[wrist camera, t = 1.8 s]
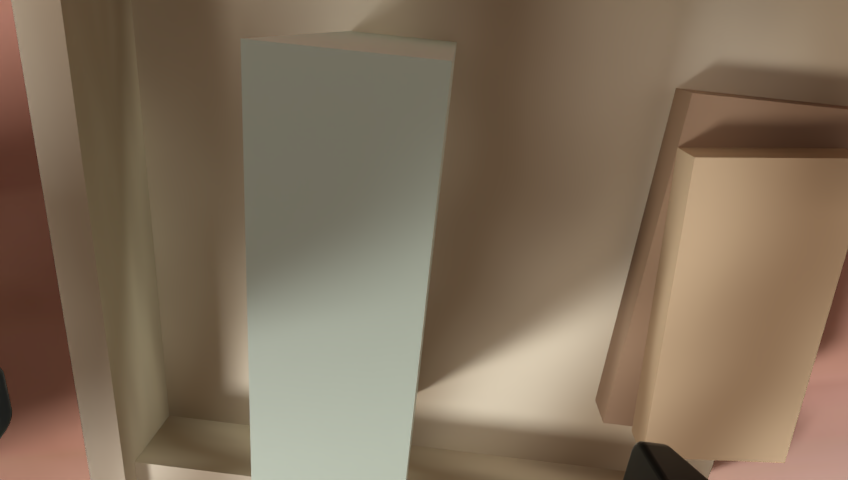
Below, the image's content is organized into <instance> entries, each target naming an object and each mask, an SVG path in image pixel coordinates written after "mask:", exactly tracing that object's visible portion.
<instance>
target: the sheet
mask: <svg viewBox="0 0 848 480" xmlns="http://www.w3.org/2000/svg"><path fill="white" fill-rule="evenodd" d="M456 44H457V42H451V41H441V40H432V39H422V38H413V37H403V36H394V35H385V34H375V33H366V32H356V31H343V32H329V33H314V34H300V35H285V36H271V37H256V38H242V39H241V80H242V120H243V161H244V202H245V242H246V283H247V324H248V364H249V405H250V446H251V480H407V476H408V467H409V459H410V450H411V442H412V433H413V425H414V416H415V408H416V400H417V391H418V382H419V373H420V364H421V355H422V347H423V338H424V329H425V320H426V311H427V302H428V293H429V284H430V275H431V266H432V258H433V249H434V240H435V231H436V222H437V213H438V204H439V195H440V186H441V178H442V169H443V160H444V151H445V142H446V133H447V124H448V115H449V106H450V97H451V89H452V80H453V71H454V62H455V53H456Z"/></svg>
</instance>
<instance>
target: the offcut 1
mask: <svg viewBox="0 0 848 480" xmlns="http://www.w3.org/2000/svg"><path fill="white" fill-rule="evenodd" d="M677 148H843V149H846V150H848V106H840V105H831V104H822V103H812V102H803V101H793V100H784V99H775V98H765V97H756V96H746V95H737V94H728V93H718V92H709V91H700V90H690V89H681V88H676V90H675V94H674V98H673V101H672V105H671V109H670V113H669V117H668V121H667V125H666V128H665V132H664V136H663V140H662V144H661V148H660V152H659V155H658V159H657V163H656V167H655V171H654V175H653V179H652V183H651V186H650V190H649V194H648V198H647V202H646V206H645V210H644V213H643V217H642V221H641V225H640V229H639V233H638V237H637V240H636V244H635V248H634V252H633V256H632V260H631V264H630V267H629V271H628V275H627V279H626V283H625V287H624V291H623V295H622V298H621V302H620V306H619V310H618V314H617V318H616V322H615V325H614V329H613V333H612V337H611V341H610V345H609V349H608V352H607V356H606V360H605V364H604V368H603V372H602V376H601V379H600V383H599V387H598V391H597V395H596V399H595V401H596V404H597V407H598V410H599V413H600V415H601V418H602V421H603V423H608V424H616V425H624V426H632V425H633V419H634V413H635V407H636V401H637V394H638V388H639V382H640V376H641V370H642V364H643V357H644V351H645V345H646V339H647V333H648V326H649V320H650V314H651V308H652V302H653V295H654V289H655V283H656V277H657V271H658V264H659V258H660V252H661V246H662V240H663V234H664V227H665V221H666V215H667V209H668V203H669V196H670V190H671V184H672V178H673V172H674V165H675V159H676V153H677Z"/></svg>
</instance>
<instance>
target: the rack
mask: <svg viewBox="0 0 848 480" xmlns="http://www.w3.org/2000/svg"><path fill="white" fill-rule="evenodd" d="M11 2H12V8H13V14H14V20H15V27H16V33H17V39H18V45H19V51H20V57H21V63H22V69H23V75H24V81H25V87H26V93H27V99H28V105H29V111H30V117H31V123H32V129H33V135H34V141H35V147H36V153H37V159H38V165H39V171H40V177H41V184H42V190H43V196H44V202H45V208H46V214H47V220H48V226H49V232H50V238H51V244H52V250H53V256H54V262H55V268H56V274H57V280H58V286H59V292H60V298H61V304H62V310H63V316H64V322H65V328H66V334H67V341H68V347H69V353H70V359H71V365H72V371H73V377H74V383H75V389H76V395H77V401H78V407H79V413H80V419H81V425H82V431H83V437H84V443H85V449H86V455H87V461H88V467H89V473H90V479H91V480H251V446H250V405H249V364H248V324H247V283H246V242H245V202H244V161H243V120H242V80H241V39H242V38H256V37H271V36H285V35H300V34H314V33H329V32H343V31H356V32H366V33H375V34H385V35H394V36H403V37H413V38H422V39H432V40H441V41H451V42H457V44H456V53H455V62H454V71H453V80H452V89H451V97H450V106H449V115H448V124H447V133H446V142H445V151H444V160H443V169H442V178H441V186H440V195H439V204H438V213H437V222H436V231H435V240H434V249H433V258H432V266H431V275H430V284H429V293H428V302H427V311H426V320H425V329H424V338H423V347H422V355H421V364H420V373H419V382H418V391H417V400H416V408H415V416H414V425H413V433H412V442H411V450H410V459H409V467H408V476H407V480H623V478H624V474H625V471H626V468H627V464H628V461H629V458H630V454H631V451H632V449H633V446H634V445H635V444H636V441H635V438H634V436H633V434H632V426H624V425H616V424H608V423H603V421H602V418H601V415H600V413H599V410H598V407H597V404H596V401H595V399H596V395H597V391H598V387H599V383H600V379H601V376H602V372H603V368H604V364H605V360H606V356H607V352H608V349H609V345H610V341H611V337H612V333H613V329H614V325H615V322H616V318H617V314H618V310H619V306H620V302H621V298H622V295H623V291H624V287H625V283H626V279H627V275H628V271H629V267H630V264H631V260H632V256H633V252H634V248H635V244H636V240H637V237H638V233H639V229H640V225H641V221H642V217H643V213H644V210H645V206H646V202H647V198H648V194H649V190H650V186H651V183H652V179H653V175H654V171H655V167H656V163H657V159H658V155H659V152H660V148H661V144H662V140H663V136H664V132H665V128H666V125H667V121H668V117H669V113H670V109H671V105H672V101H673V98H674V94H675V90H676V88H681V89H690V90H700V91H709V92H718V93H728V94H737V95H746V96H756V97H765V98H775V99H784V100H793V101H803V102H812V103H822V104H831V105H840V106H848V0H11ZM685 460H686V461H687V462H688V463H690V464H691V465H692V466H693V467H694V468H695V469H697V470H698V471H699V472H700V473H701V474H702V475H704V476H705V477H706V478H707V479H708V477H709V474H710V471H711V469H712V466H713V463H714V461H715V460H696V459H685Z"/></svg>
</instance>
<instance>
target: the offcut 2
mask: <svg viewBox="0 0 848 480" xmlns="http://www.w3.org/2000/svg"><path fill="white" fill-rule="evenodd" d="M847 250H848V150H846V149H843V148H677V153H676V159H675V165H674V172H673V178H672V184H671V190H670V196H669V203H668V209H667V215H666V221H665V227H664V234H663V240H662V246H661V252H660V258H659V264H658V271H657V277H656V283H655V289H654V295H653V302H652V308H651V314H650V320H649V326H648V333H647V339H646V345H645V351H644V357H643V364H642V370H641V376H640V382H639V388H638V394H637V401H636V407H635V413H634V419H633V425H632V434H633V436H634V438H635V441H636V443H637V442H639V441H645V442H653V443H662V444H666V445H668V446H669V447H671V448H672V449H673V450H674V451H676V452H677V453H678V454H679V455H680V456H681V457H683V458H684V459H696V460H721V461H747V462H773V463H785V460H786V457H787V453H788V450H789V446H790V443H791V440H792V436H793V433H794V429H795V426H796V423H797V419H798V416H799V413H800V409H801V406H802V402H803V399H804V396H805V392H806V389H807V385H808V382H809V379H810V375H811V372H812V368H813V365H814V362H815V358H816V355H817V352H818V348H819V345H820V341H821V338H822V335H823V331H824V328H825V324H826V321H827V318H828V314H829V311H830V308H831V304H832V301H833V297H834V294H835V291H836V287H837V284H838V280H839V277H840V274H841V270H842V267H843V263H844V260H845V257H846V253H847Z"/></svg>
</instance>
